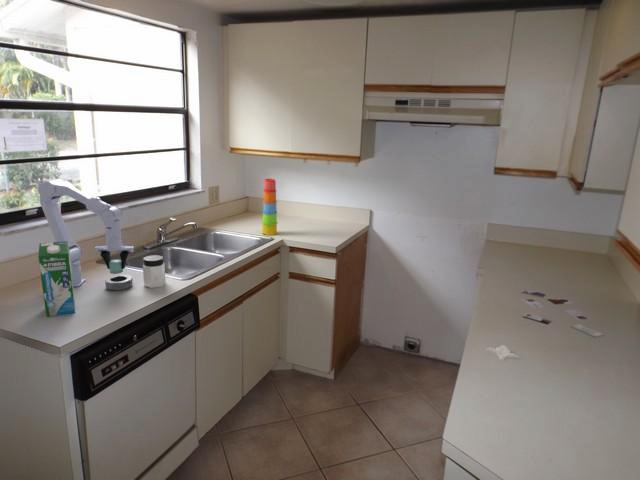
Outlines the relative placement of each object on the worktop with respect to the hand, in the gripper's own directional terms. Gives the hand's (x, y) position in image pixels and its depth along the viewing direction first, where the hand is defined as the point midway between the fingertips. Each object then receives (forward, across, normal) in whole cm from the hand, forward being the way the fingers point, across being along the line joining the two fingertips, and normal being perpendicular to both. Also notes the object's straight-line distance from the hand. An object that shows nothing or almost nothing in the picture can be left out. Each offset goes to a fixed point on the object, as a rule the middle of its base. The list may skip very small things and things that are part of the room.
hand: (116, 268), depth 185 cm
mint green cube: (+2, 0, 0) cm, 2 cm away
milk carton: (+9, -13, -22) cm, 27 cm away
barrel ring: (+8, 0, +1) cm, 8 cm away
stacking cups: (+9, +66, +90) cm, 112 cm away
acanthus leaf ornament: (+9, +138, -63) cm, 152 cm away
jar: (+9, +14, +3) cm, 17 cm away
